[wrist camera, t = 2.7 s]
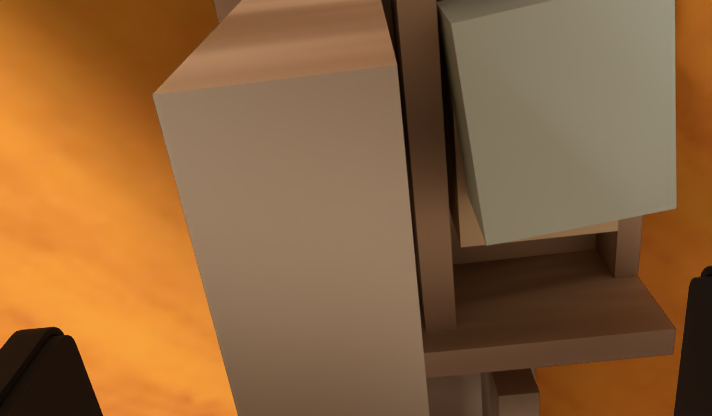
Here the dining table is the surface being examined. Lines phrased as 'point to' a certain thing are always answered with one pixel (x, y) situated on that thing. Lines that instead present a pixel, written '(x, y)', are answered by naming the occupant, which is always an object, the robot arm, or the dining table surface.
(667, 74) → the offcut upper
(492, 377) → the stand
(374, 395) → the birch sheet
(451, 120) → the offcut lower
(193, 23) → the dining table surface
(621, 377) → the dining table surface
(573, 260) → the tray
